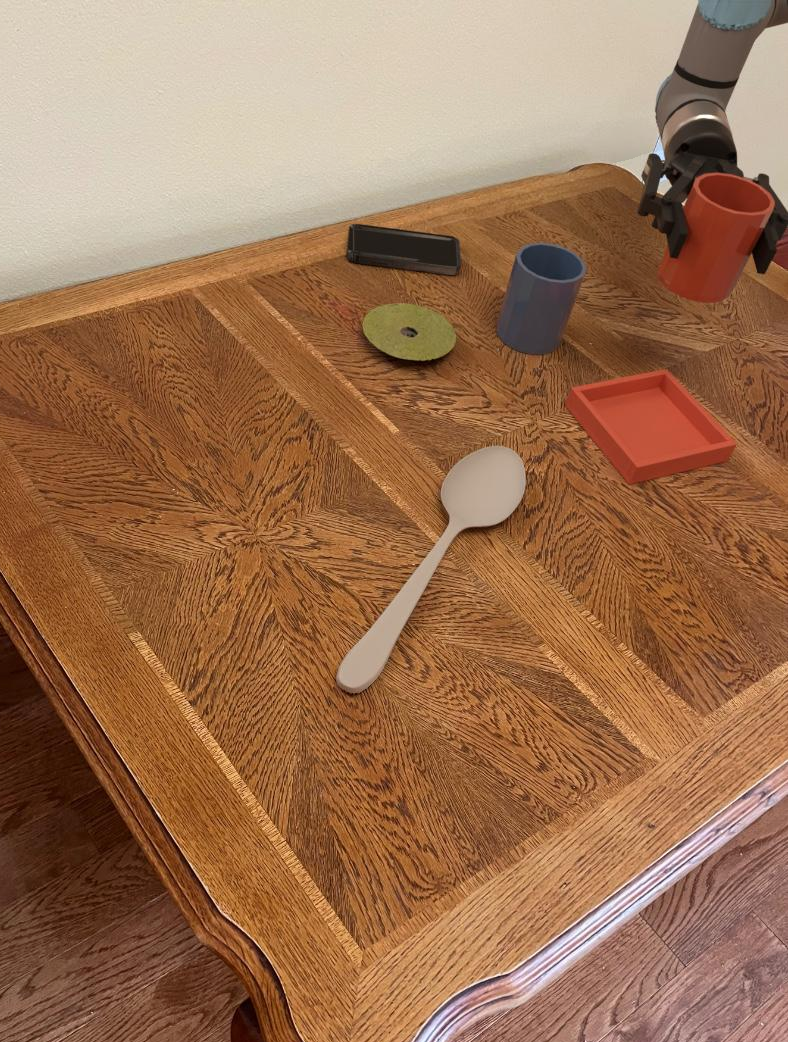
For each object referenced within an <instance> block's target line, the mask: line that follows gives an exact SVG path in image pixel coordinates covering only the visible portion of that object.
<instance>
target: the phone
mask: <svg viewBox="0 0 788 1042" xmlns="http://www.w3.org/2000/svg"><path fill="white" fill-rule="evenodd" d="M346 246H347V247H346V259H347V260H348V261H349V262H350V263H355V264H360V265H361V264H362V265H368V266H377V267H384V268H391V269H399V270H407V271H416V272H424V273H430V274H439V275H447V276H457V275H459V274H460V271H461V266H462V256H461V242H460V239H459V238H458V237H456V236H453V235H446V234H438V233H431V232H422V231H415V230H408V229H401V228H392V227H385V226H379V225H377V226H376V225H369V224H362V223H352V224H350V225H349V227H348V232H347V245H346Z"/></svg>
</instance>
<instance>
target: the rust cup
mask: <svg viewBox="0 0 788 1042" xmlns="http://www.w3.org/2000/svg"><path fill="white" fill-rule="evenodd" d="M774 205H775V201H774V199H773V197H772V196H771V194H770V193H769V192H768V191H766V190H765V189H764V188H763V187H762V186H760V185H758V184H756V183H754V182H752V181H750V180H748V179H746V178H742V177H739V176H735V175H731V174H724V173H707V174H703V175H701V176H699V177H697V178H696V179H695V181H694V183H693V186H692V188H691V191H690V193H689V195H688V198H687V199H686V200H685V203H684V204H683V206H682V207H683V212H684V217H685V222H686V227H687V232H688V236H687V238H686V240H685V243H684V245H683V247H682V249H681V252H680V254H679V256H678V259H675V258H670V254H669V248H668V244H667V245H666V248H665V250H664V253H663V255H662V256H661V260H660V262H659V265H658V267H657V270H656V274H657V278H658V280H659V281H660V283H661V284H662V286H664V287H665V288H666V289H667V290H668V291H670V292H672V293H673V294H675V295H677V296H679V297H681V298H683V299H686V300H689V301H691V302H697V303H705V304H713V303H720V302H723V301H725V300H727V299H728V298H730V296H731V294H732V292H733V291H734V289H735V287H736V286H737V283H738V281H739V279H740V277H741V276H742V274H743V271H744V269H745V267H746V265H747V263H748V261H749V259H750V258H751V255H752V251H753V249H754V247H755V245H756V243H757V241H758V239H759V237H760V235H761V233H762V231H763V229H764V227H765V225H766V223H767V221H768V219H769V217H770V215H771V213H772V211H773V209H774Z"/></svg>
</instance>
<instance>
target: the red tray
mask: <svg viewBox="0 0 788 1042" xmlns="http://www.w3.org/2000/svg"><path fill="white" fill-rule="evenodd" d="M564 407H565V408H566V409H567V410H568V412H569V413H570V414H571V416H572V417H573V418H574V419H575V421H576V422H577V423H578V424H579V425H580V427H581V428H582V429H583V430H584V432H585V433H586V434H587V435H588V436H589V437H590V439H591V440H592V441H593V443H594V444H596V445H595V446H597V447H598V449H599V450H600V451H601V452H602V453H603V455H604V456H605V457H606V458H607V460H608V461H609V462H610V463H611V465H612V466H613V467H614V468H615V469H616V471H617V472H618V474H620V475H621V477H622V479H624V480H625V482H626V483H627V484H628V485H633V484H638V483H641V482H646V481H650V480H655V479H658V478H662V477H663V478H664V477H667V476H671V475H675V474H679V473H684V472H688V471H693V470H696V469H700V468H704V467H708V466H709V467H710V466H712V465H718V464H720V463H726V462H728V460H729V459H730V457H731V455H732V454H733V453H734V450H735V449H736V448H737V445H738V443H737V442H736V441H735V440H734V439H733V438H732V437H731V436H730V435H729V433H728V432H727V431H726V430H725V429H724V428H723V427H722V426H721V425H720V424H719V423H718V422H717V421H716V420H715V419H714V418H713V416H712V415H711V414H710V413H709V412H708V411H707V410H706V409H705V408H704V407H703V406H702V405H701V404H700V403H699V402H698V400H697V399H696V398H695V397H694V396H693V395H692V393H690V392H689V391H688V390H687V388H685V387H684V385H683V384H681V382H680V381H679V380H678V379H677V378H676V377H675V376H674V375H673V374H672V373H671V372H670V371H669V369H667V368H664V369H658V370H655V371H649V372H644V373H638V374H633V375H628V376H624V377H618V378H613V379H607V380H603V381H598V382H593V383H587V384H581V385H578V386H572V387H570V389H569V392H568V394H567V397H566V399H565V403H564Z"/></svg>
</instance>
